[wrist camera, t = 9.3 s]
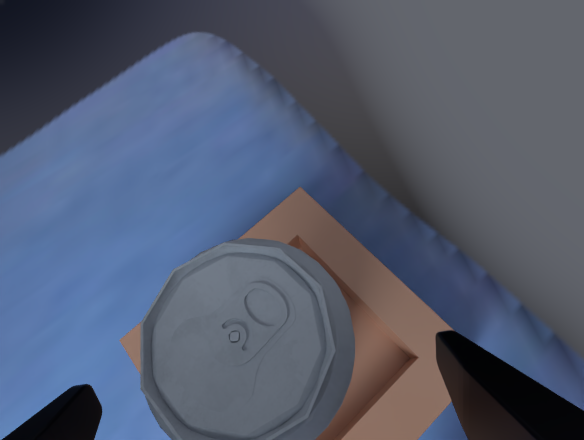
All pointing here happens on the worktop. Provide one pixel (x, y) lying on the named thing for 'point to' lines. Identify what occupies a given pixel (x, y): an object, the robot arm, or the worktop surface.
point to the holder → (363, 329)
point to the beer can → (247, 345)
